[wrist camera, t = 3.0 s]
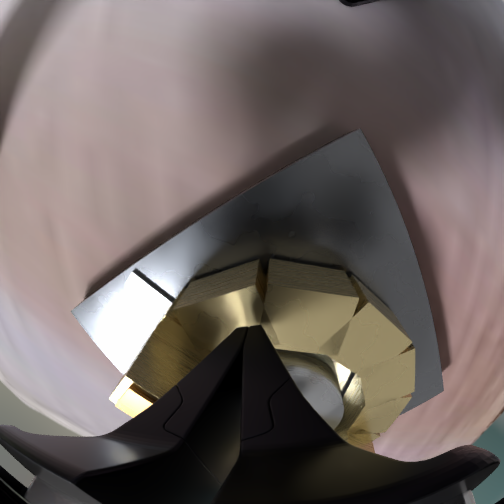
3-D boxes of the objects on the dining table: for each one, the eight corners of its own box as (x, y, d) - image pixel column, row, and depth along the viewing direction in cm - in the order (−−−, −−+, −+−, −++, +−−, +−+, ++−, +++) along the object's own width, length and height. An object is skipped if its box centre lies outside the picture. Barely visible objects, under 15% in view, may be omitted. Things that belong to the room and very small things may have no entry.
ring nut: (436, 355, 12) (476, 423, 7) (282, 457, 16) (280, 517, 11) (257, 193, 10) (238, 231, 5) (120, 373, 14) (81, 437, 9)
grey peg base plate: (350, 131, 11) (389, 119, 7) (436, 377, 15) (458, 419, 11) (83, 300, 15) (42, 337, 11) (234, 452, 19) (228, 492, 15)
